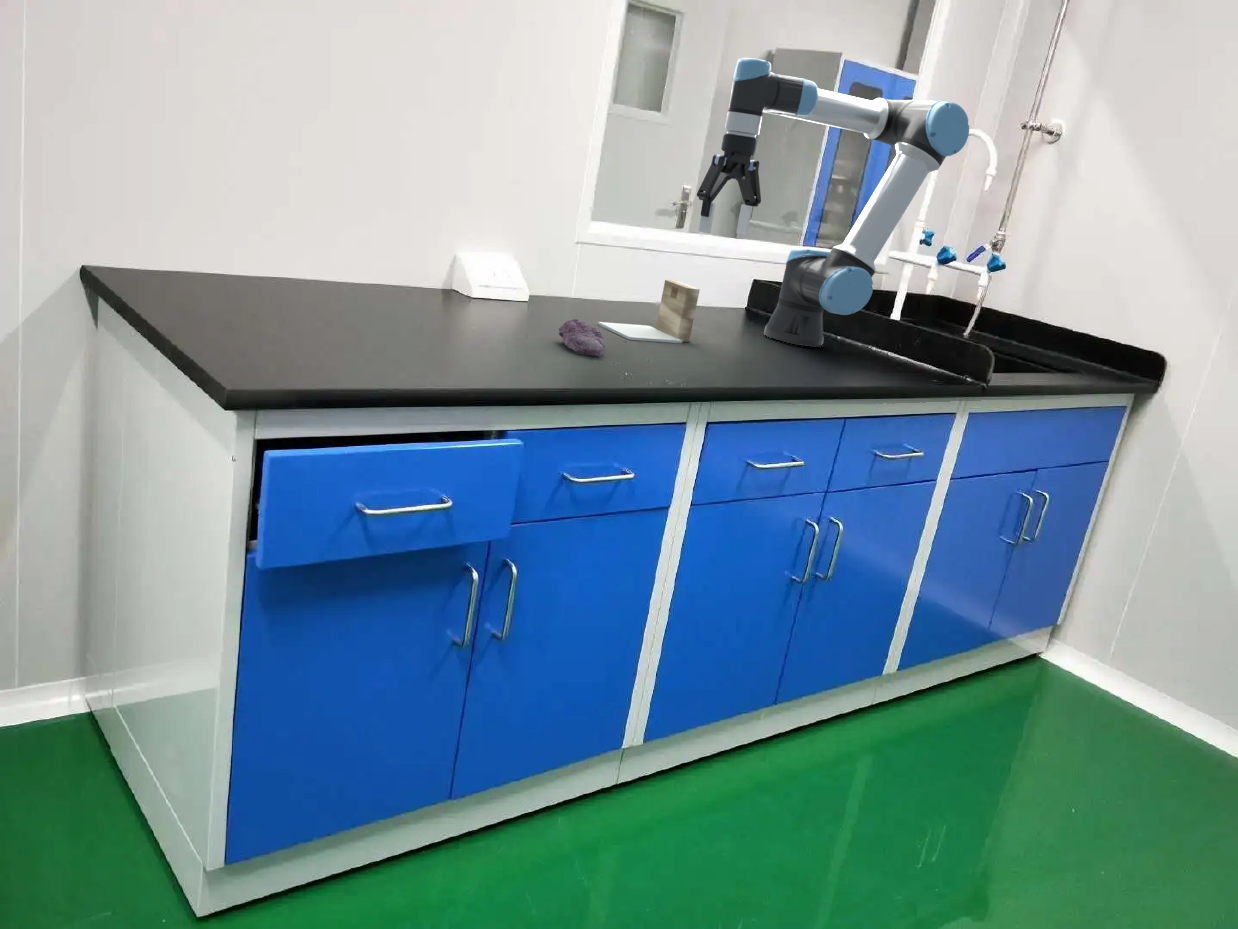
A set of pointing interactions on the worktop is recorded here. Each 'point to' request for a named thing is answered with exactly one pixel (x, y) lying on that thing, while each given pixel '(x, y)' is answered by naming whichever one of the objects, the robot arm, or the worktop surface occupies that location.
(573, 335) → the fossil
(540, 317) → the worktop surface
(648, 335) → the mat
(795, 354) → the worktop surface
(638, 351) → the worktop surface
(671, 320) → the slab
